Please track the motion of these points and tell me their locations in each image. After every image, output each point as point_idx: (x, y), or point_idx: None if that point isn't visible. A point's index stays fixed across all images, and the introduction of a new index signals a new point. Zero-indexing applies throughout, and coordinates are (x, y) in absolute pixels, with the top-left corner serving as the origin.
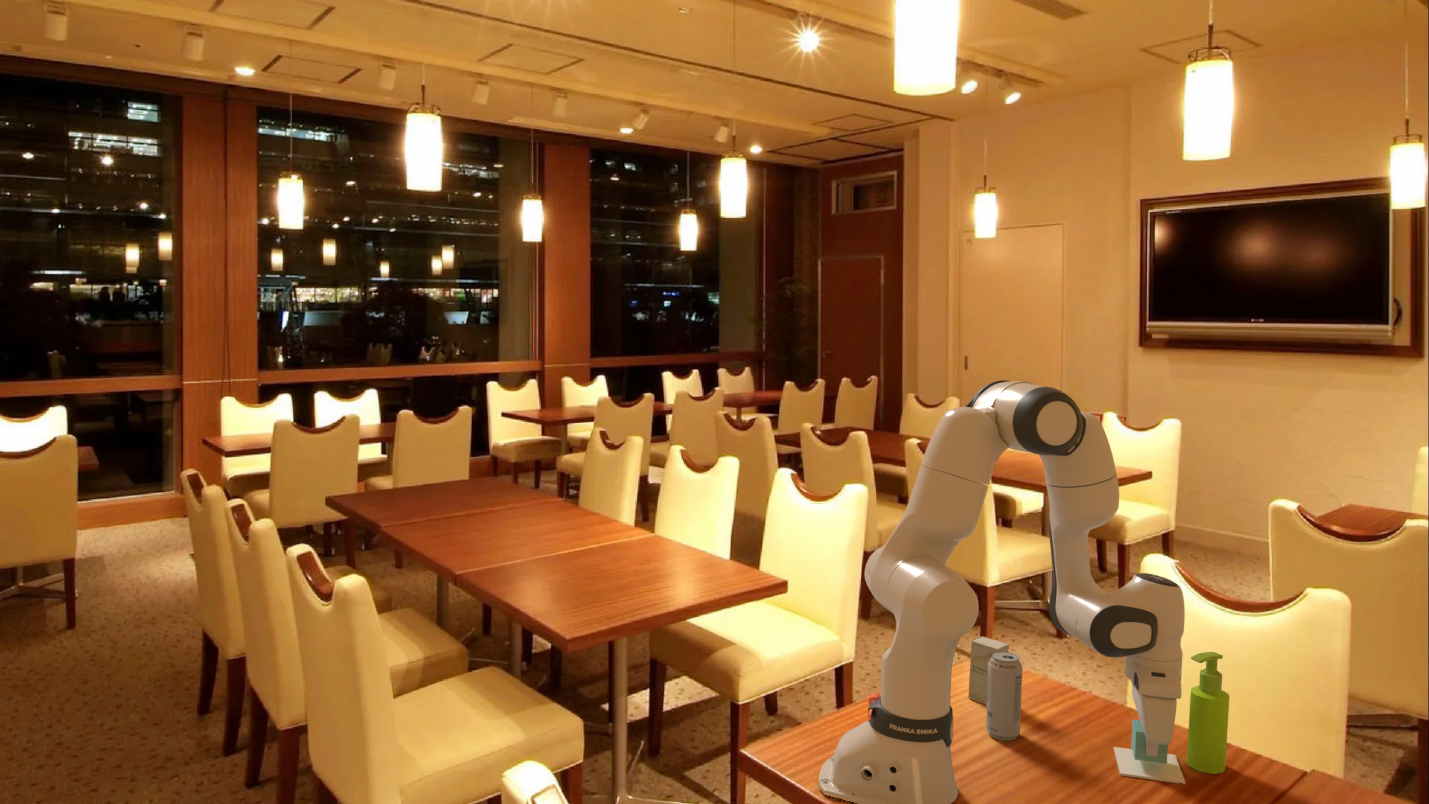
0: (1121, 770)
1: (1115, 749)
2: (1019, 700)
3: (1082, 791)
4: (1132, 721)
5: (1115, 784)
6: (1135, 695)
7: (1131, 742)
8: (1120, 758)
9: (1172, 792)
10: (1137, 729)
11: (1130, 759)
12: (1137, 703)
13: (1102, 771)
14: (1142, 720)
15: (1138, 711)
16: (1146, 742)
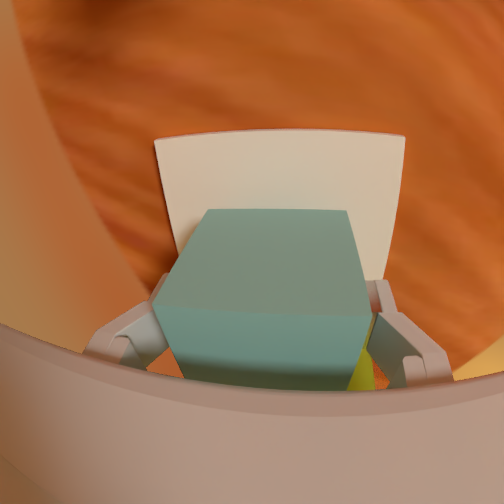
0: (177, 145)
1: (380, 139)
2: None
3: (30, 58)
4: (365, 304)
5: (94, 129)
6: (489, 453)
7: (344, 221)
8: (294, 147)
9: (135, 274)
10: (190, 317)
11: (297, 186)
12: (356, 467)
13: (163, 76)
14: (55, 394)
15: (264, 429)
16: (142, 309)
